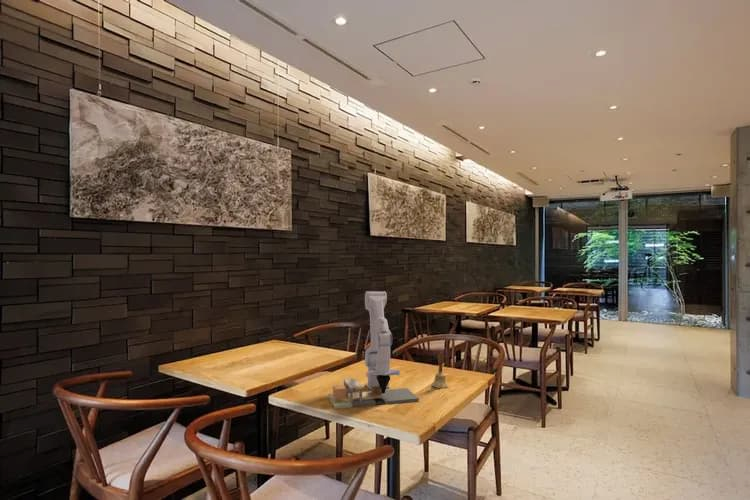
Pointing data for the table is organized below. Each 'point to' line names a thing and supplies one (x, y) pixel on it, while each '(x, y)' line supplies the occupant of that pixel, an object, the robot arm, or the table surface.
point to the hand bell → (440, 375)
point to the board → (379, 399)
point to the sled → (363, 394)
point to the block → (339, 391)
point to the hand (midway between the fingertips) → (382, 392)
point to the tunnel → (353, 388)
